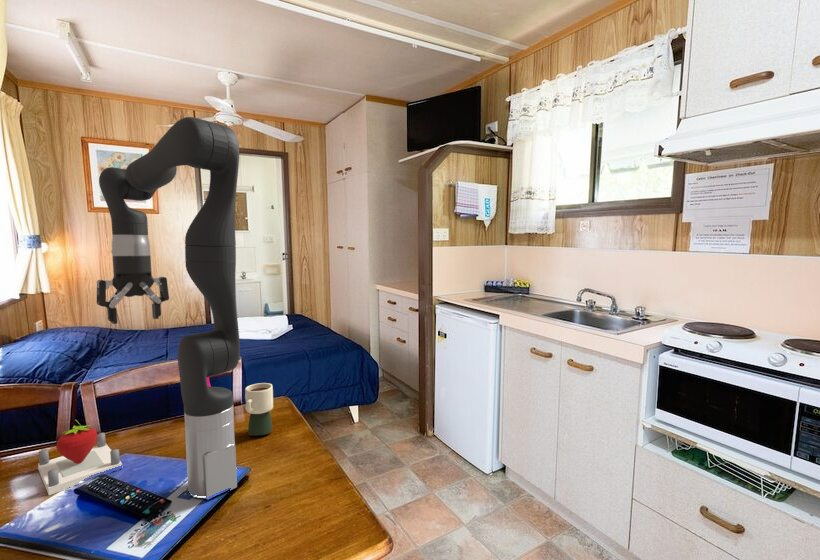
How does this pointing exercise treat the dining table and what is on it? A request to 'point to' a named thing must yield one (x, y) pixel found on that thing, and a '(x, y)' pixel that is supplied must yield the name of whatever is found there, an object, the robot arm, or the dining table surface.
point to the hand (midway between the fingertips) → (135, 321)
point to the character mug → (259, 408)
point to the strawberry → (77, 443)
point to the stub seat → (76, 466)
